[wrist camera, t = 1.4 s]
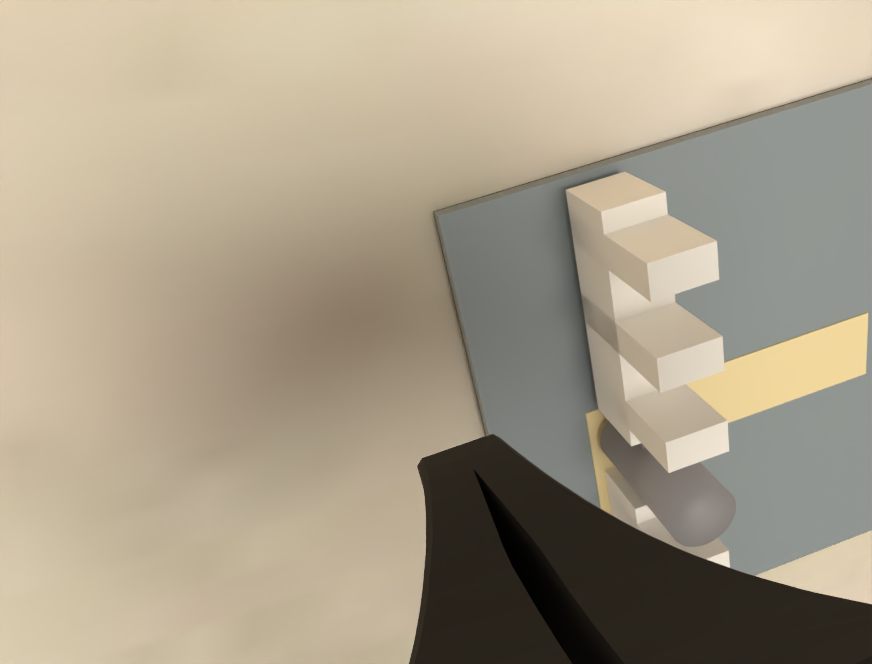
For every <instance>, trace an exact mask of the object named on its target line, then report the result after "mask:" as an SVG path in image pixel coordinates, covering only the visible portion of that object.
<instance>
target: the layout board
mask: <svg viewBox="0 0 872 664" xmlns="http://www.w3.org/2000/svg"><path fill="white" fill-rule="evenodd" d="M622 172H627V173H629V174H631V175H633V176H635V177H637V178H639V179H641V180H643V181H645V182H647V183H649V184H651V185H653V186H655V187H657V188H659V189H661V190H663V191H665V192H666V200H667V211H668V215H670V216H672V217H674V218H676V219H678V220H679V221H681V222H683V223H685V224H687V225H689V226H691V227H692V228H694V229H696V230H698V231H700V232H702V233H703V234H705V235H707V236H709V237H711V238H713V239H715V240H716V241H717V249H718V266H719V280H716V281H713V282H710V283H707V284H704V285H701V286H698V287H695V288H692V289H689V290H686V291H683V292H680V293H677V294H675V302H676V303H677V304H679V305H680V306H681V307H683V308H684V309H685V310H687V311H688V312H690V313H691V314H692V315H694V316H695V317H697V318H698V319H699V320H701V321H702V322H704V323H705V324H706V325H708V326H709V327H711V328H712V329H713V330H715V331H716V332H717V333H719V334H720V335H722V336H723V351H724V369H725V370H724V371H722V372H719V373H716V374H713V375H710V376H707V377H704V378H701V379H699V380H696V381H693V382H690V383H687V384H686V385H687V386H688V387H690V388H691V389H692V390H693V391H694V392H695V393H697V394H698V395H699V396H700V397H701V398H702V399H703V400H705V401H706V402H707V403H708V404H709V405H710V406H711V407H713V408H714V409H715V410H716V411H717V412H718V413H719V414H721V415H722V416H723V417H724V418H725V419H726V420H727V421H728V437H729V451H728V452H726V453H723V454H720V455H717V456H715V457H712V458H709V459H706V460H704V461H701V463H702V464H703V465H704V466H705V467H706V468H707V469H708V470H709V471H710V472H711V473H712V474H713V475H714V477H715V478H716V479H717V480H718V481H719V482H720V483H721V484H722V485H723V486H724V487H725V488H726V489H727V490H728V491H729V492H730V493H731V494H732V495H733V497H734V498H735V501H736V512H735V516H734V518H733V521H732V523H731V524H730V526H729V527H728V528H727V530H726V531H725V532H724V533H723V534H722V535H721V536H719V537H718V539H719V540H720V541H721V542H722V543H723V544H724V546H725V547H726V548H727V549H728V550H729V561H730V568H732V569H735V570H737V571H740V572H743V573H746V574H750V575H753V576H755V575H757V574H760V573H762V572H765V571H768V570H770V569H773V568H775V567H778V566H780V565H783V564H786V563H788V562H791V561H793V560H796V559H798V558H801V557H804V556H806V555H809V554H811V553H814V552H816V551H819V550H822V549H824V548H827V547H829V546H832V545H834V544H837V543H840V542H842V541H845V540H847V539H850V538H853V537H855V536H858V535H860V534H863V533H865V532H868V531H871V530H872V79H869V80H866V81H862V82H859V83H856V84H853V85H849V86H846V87H843V88H839V89H836V90H833V91H830V92H826V93H823V94H820V95H816V96H813V97H810V98H806V99H803V100H800V101H797V102H793V103H790V104H787V105H783V106H780V107H777V108H774V109H770V110H767V111H764V112H760V113H757V114H754V115H751V116H747V117H744V118H741V119H737V120H734V121H731V122H728V123H724V124H721V125H718V126H714V127H711V128H708V129H705V130H701V131H698V132H695V133H691V134H688V135H685V136H682V137H678V138H675V139H672V140H668V141H665V142H662V143H659V144H655V145H652V146H649V147H645V148H642V149H639V150H635V151H632V152H629V153H626V154H622V155H619V156H616V157H612V158H609V159H606V160H603V161H599V162H596V163H593V164H589V165H586V166H583V167H580V168H576V169H573V170H570V171H566V172H563V173H560V174H557V175H553V176H550V177H547V178H543V179H540V180H537V181H534V182H530V183H527V184H524V185H520V186H517V187H514V188H511V189H507V190H504V191H501V192H497V193H494V194H491V195H487V196H484V197H481V198H478V199H474V200H471V201H468V202H464V203H461V204H458V205H455V206H451V207H448V208H445V209H441V210H438V211H435V212H434V215H435V219H436V224H437V228H438V232H439V236H440V241H441V245H442V249H443V253H444V258H445V262H446V266H447V270H448V275H449V279H450V283H451V288H452V292H453V296H454V300H455V305H456V309H457V313H458V317H459V322H460V326H461V330H462V334H463V339H464V343H465V347H466V352H467V356H468V360H469V364H470V369H471V373H472V377H473V381H474V386H475V390H476V394H477V398H478V403H479V407H480V411H481V416H482V420H483V424H484V428H485V433H486V436H488V435H491V434H494V435H496V436H498V437H500V438H501V439H502V440H504V441H505V442H506V443H507V444H508V445H510V446H511V447H512V448H513V449H515V450H516V451H517V452H518V453H520V454H521V455H522V456H523V457H525V458H526V459H527V460H529V461H530V462H531V463H533V464H534V465H535V466H537V467H538V468H539V469H541V470H542V471H544V472H545V473H546V474H548V475H549V476H551V477H552V478H553V479H555V480H556V481H558V482H559V483H561V484H562V485H564V486H565V487H567V488H569V489H570V490H572V491H573V492H575V493H576V494H578V495H579V496H581V497H582V498H584V499H585V500H587V501H589V502H590V503H592V504H594V505H595V506H597V507H598V508H600V509H602V510H604V511H605V512H607V513H609V514H611V509H610V502H609V495H608V489H607V482H606V476H605V470H607V469H610V468H612V467H615V466H614V464H613V463H612V462H611V461H610V459H609V458H608V457H607V456H606V454H605V453H604V452H603V450H602V448H601V445H600V436H601V432H602V429H603V427H604V426H605V424H606V423H607V421H608V419H607V418H606V417H605V416H604V415H603V414H602V413H601V411H600V410H599V409H598V403H597V397H596V390H595V383H594V377H593V370H592V363H591V357H590V350H589V343H588V337H587V330H586V323H585V316H584V310H583V303H582V296H581V290H580V283H579V276H578V270H577V263H576V256H575V250H574V243H573V236H572V230H571V223H570V216H569V210H568V203H567V196H566V189H570V188H573V187H576V186H580V185H583V184H586V183H589V182H593V181H596V180H599V179H602V178H606V177H609V176H612V175H615V174H619V173H622Z"/></svg>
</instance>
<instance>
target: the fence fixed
mask: <svg viewBox="0 0 872 664" xmlns="http://www.w3.org/2000/svg"><path fill="white" fill-rule="evenodd" d="M605 476H606V482H607V489H608V495H609V502H610V509H611V515H612V516H614V517H616V518H618V519H620V520H621V521H623V522H625V523H627V524H629V525H631V526H632V527H634V528H636V529H638V530H640V531H642V532H644V533H646V534H648V535H650V536H652V537H655V538H657V539H659V540H661V541H663V542H665V543H667V544H670V545H672V546H674V547H676V548H679V549H681V550H683V551H686V552H688V553H691V554H693V555H696V556H698V557H701V558H704V559H707V560H709V561H712V562H715V563H718V564H721V565H723V566H726V567H729V568H730V561H729V550H728V549H727V548H726V547H725V546H724V544H723V543H722V542H721V541H720V540H719V539H718V538H717V539H715V540H714V541H712V542H710V543H708V544H705V545H702V546H698V547H687V546H683V545H681V544H679V543H678V542H677V541H676V540H675V539H674V538H673V537H672V536H671V534H670V533H669V532H668V531H667V529H666V528H665V527H664V526H663V525H662V523H661V522H660V521H659V520H658V518H657V517H656V516H655V515H654V513H653V512H652V511H651V510H650V509H649V507H648V506H647V505H646V504H645V502H644V501H643V500H642V499H641V497H640V496H639V495H638V494H637V493H636V491H635V490H634V489H633V488H632V486H631V485H630V484H629V483H628V481H627V480H626V479H625V478H624V477H623V475H622V474H621V473H620V472H619V470H618V469H617V468H616V467H612V468H610V469H607V470H605Z"/></svg>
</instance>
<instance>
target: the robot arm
mask: <svg viewBox="0 0 872 664" xmlns="http://www.w3.org/2000/svg"><path fill="white" fill-rule="evenodd" d="M417 467H418V470H419V474H420V477H421V481H422V484H423V488H424V494H425V506H426V557H425V569H424V581H423V591H422V599H421V606H420V613H419V619H418V625H417V630H416V636H415V641H414V645H413V650H412V654H411V658H410V662H409V664H872V604H867V603H862V602H857V601H853V600H848V599H843V598H838V597H833V596H828V595H824V594H819V593H814V592H810V591H806V590H802V589H798V588H795V587H791V586H788V585H784V584H780V583H777V582H773V581H769V580H766V579H762V578H759V577H756V576H753V575H750V574H746V573H743V572H740V571H737V570H735V569H732V568H729V567H726V566H723V565H721V564H718V563H715V562H712V561H709V560H707V559H704V558H701V557H698V556H696V555H693V554H691V553H688V552H686V551H683V550H681V549H679V548H676V547H674V546H672V545H670V544H667V543H665V542H663V541H661V540H659V539H657V538H655V537H652V536H650V535H648V534H646V533H644V532H642V531H640V530H638V529H636V528H634V527H632V526H631V525H629V524H627V523H625V522H623V521H621V520H620V519H618V518H616V517H614V516H612V515H611V514H609V513H607V512H605V511H604V510H602V509H600V508H598V507H597V506H595V505H594V504H592V503H590V502H589V501H587V500H585V499H584V498H582V497H581V496H579V495H578V494H576V493H575V492H573V491H572V490H570V489H569V488H567V487H565V486H564V485H562V484H561V483H559V482H558V481H556V480H555V479H553V478H552V477H551V476H549V475H548V474H546V473H545V472H544V471H542V470H541V469H539V468H538V467H537V466H535V465H534V464H533V463H531V462H530V461H529V460H527V459H526V458H525V457H523V456H522V455H521V454H520V453H518V452H517V451H516V450H515V449H513V448H512V447H511V446H510V445H508V444H507V443H506V442H505V441H504V440H502V439H501V438H500V437H498V436H496V435H494V434H491V435H488V436H485V437H482V438H479V439H477V440H474V441H471V442H468V443H465V444H462V445H459V446H456V447H453V448H451V449H448V450H445V451H442V452H439V453H436V454H433V455H430V456H427V457H425V458H422V460H421V461H420V463H419V464H418V466H417Z"/></svg>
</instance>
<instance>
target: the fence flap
mask: <svg viewBox="0 0 872 664" xmlns="http://www.w3.org/2000/svg"><path fill="white" fill-rule="evenodd" d="M566 196H567V203H568V210H569V216H570V223H571V230H572V236H573V243H574V250H575V256H576V263H577V270H578V276H579V283H580V290H581V296H582V303H583V310H584V316H585V323H586V330H587V337H588V343H589V350H590V357H591V363H592V370H593V377H594V383H595V390H596V397H597V403H598V409H599V410H600V411H601V413H602V414H603V415H604V416H605V417H606V418H607V419H608V421H607V423H606V424H605V426H604V427H603V429H602V432H601V436H600V445H601V448H602V450H603V452H604V453H605V454H606V456H607V457H608V458H609V459H610V461H611V462H612V463H613V464H614V466H615V467H616V468H617V469H618V470H619V472H620V473H621V474H622V475H623V477H624V478H625V479H626V480H627V481H628V483H629V484H630V485H631V486H632V488H633V489H634V490H635V491H636V493H637V494H638V495H639V496H640V497H641V499H642V500H643V501H644V502H645V504H646V505H647V506H648V507H649V509H650V510H651V511H652V512H653V513H654V515H655V516H656V517H657V518H658V520H659V521H660V522H661V523H662V525H663V526H664V527H665V528H666V529H667V531H668V532H669V533H670V534H671V536H672V537H673V538H674V539H675V540H676V541H677V542H678V543H679V544H681V545H683V546H687V547H698V546H702V545H705V544H708V543H710V542H712V541H714V540H715V539H717V538H718V537H719V536H721V535H722V534H723V533H724V532H725V531H726V530H727V528H728V527H729V526H730V524H731V523H732V521H733V518H734V516H735V512H736V501H735V498H734V497H733V495H732V494H731V493H730V492H729V491H728V490H727V489H726V488H725V487H724V486H723V485H722V484H721V483H720V482H719V481H718V480H717V479H716V478H715V477H714V475H713V474H712V473H711V472H710V471H709V470H708V469H707V468H706V467H705V466H704V465H703V464H702V463H701V461H704V460H706V459H709V458H712V457H715V456H717V455H720V454H723V453H726V452H728V451H729V437H728V421H727V420H726V419H725V418H724V417H723V416H722V415H721V414H719V413H718V412H717V411H716V410H715V409H714V408H713V407H711V406H710V405H709V404H708V403H707V402H706V401H705V400H703V399H702V398H701V397H700V396H699V395H698V394H697V393H695V392H694V391H693V390H692V389H691V388H690V387H688V386H687V385H686V384H687V383H690V382H693V381H696V380H699V379H701V378H704V377H707V376H710V375H713V374H716V373H719V372H722V371H724V370H725V369H724V351H723V336H722V335H720V334H719V333H717V332H716V331H715V330H713V329H712V328H711V327H709V326H708V325H706V324H705V323H704V322H702V321H701V320H699V319H698V318H697V317H695V316H694V315H692V314H691V313H690V312H688V311H687V310H685V309H684V308H683V307H681V306H680V305H679V304H677V303H676V302H675V294H677V293H680V292H683V291H686V290H689V289H692V288H695V287H698V286H701V285H704V284H707V283H710V282H713V281H716V280H719V266H718V249H717V241H716V240H715V239H713V238H711V237H709V236H707V235H705V234H703V233H702V232H700V231H698V230H696V229H694V228H692V227H691V226H689V225H687V224H685V223H683V222H681V221H679V220H678V219H676V218H674V217H672V216H670V215H668V211H667V200H666V192H665V191H663V190H661V189H659V188H657V187H655V186H653V185H651V184H649V183H647V182H645V181H643V180H641V179H639V178H637V177H635V176H633V175H631V174H629V173H627V172H622V173H619V174H615V175H612V176H609V177H606V178H602V179H599V180H596V181H593V182H589V183H586V184H583V185H580V186H576V187H573V188H570V189H566Z"/></svg>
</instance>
